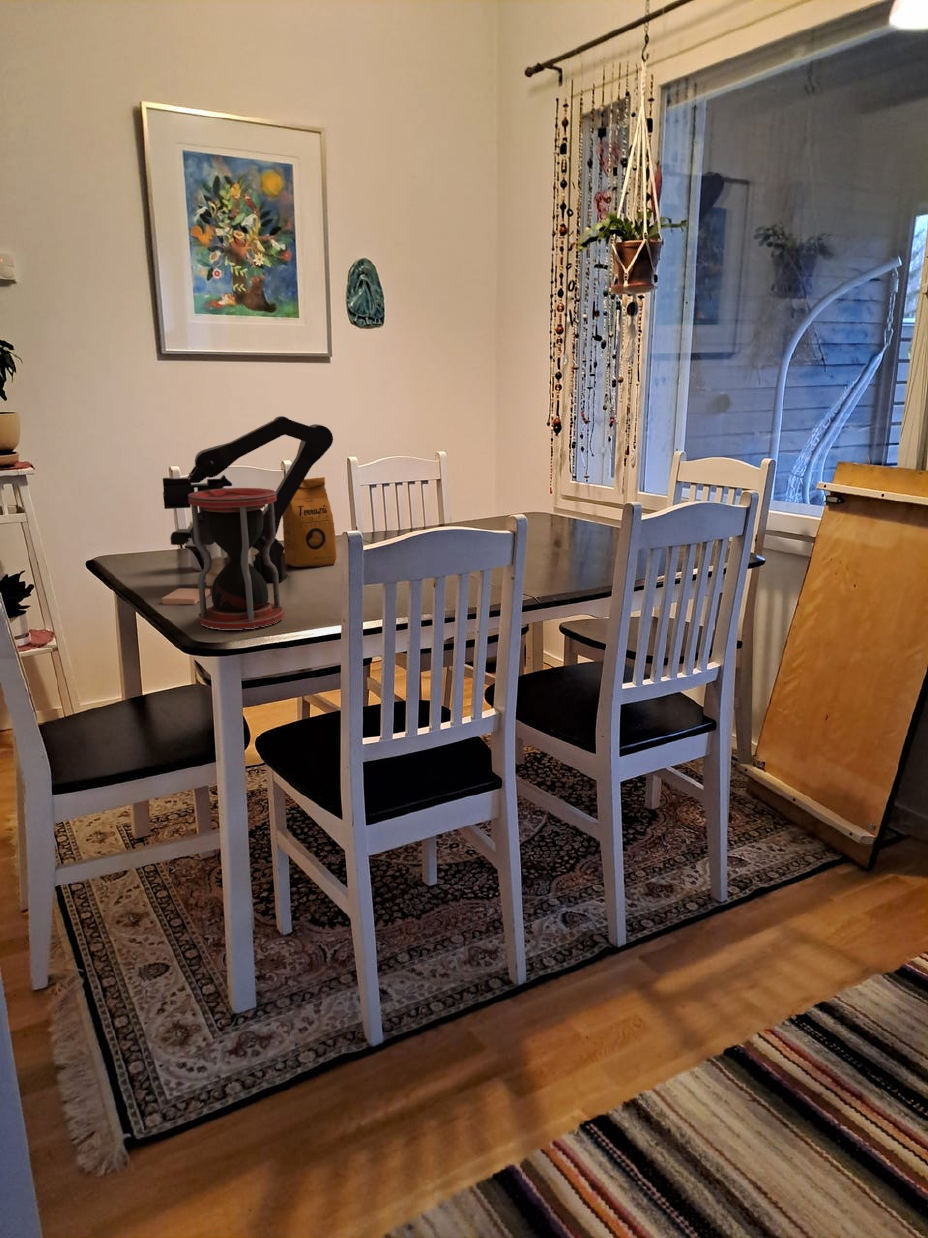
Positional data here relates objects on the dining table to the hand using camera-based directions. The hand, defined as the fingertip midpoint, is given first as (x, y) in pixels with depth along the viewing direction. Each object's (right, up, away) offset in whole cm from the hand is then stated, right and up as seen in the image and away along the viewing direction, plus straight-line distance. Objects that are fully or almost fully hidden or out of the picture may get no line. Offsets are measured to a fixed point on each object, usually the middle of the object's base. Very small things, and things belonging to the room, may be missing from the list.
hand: (217, 574), depth 197 cm
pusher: (0, -2, +1) cm, 2 cm away
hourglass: (+13, -11, -29) cm, 34 cm away
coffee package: (+18, +3, +20) cm, 27 cm away
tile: (-3, -4, -9) cm, 10 cm away
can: (-8, +2, +17) cm, 19 cm away
